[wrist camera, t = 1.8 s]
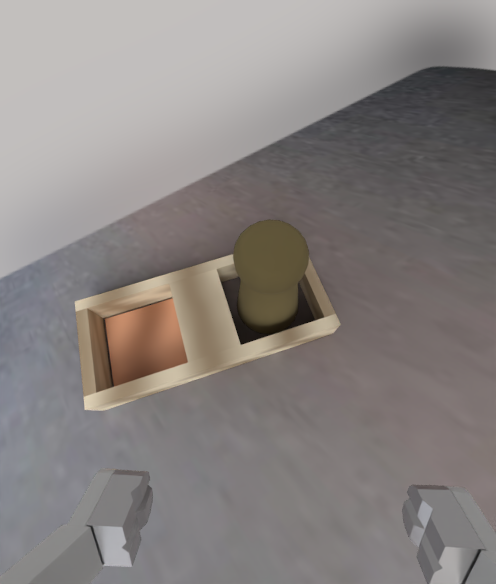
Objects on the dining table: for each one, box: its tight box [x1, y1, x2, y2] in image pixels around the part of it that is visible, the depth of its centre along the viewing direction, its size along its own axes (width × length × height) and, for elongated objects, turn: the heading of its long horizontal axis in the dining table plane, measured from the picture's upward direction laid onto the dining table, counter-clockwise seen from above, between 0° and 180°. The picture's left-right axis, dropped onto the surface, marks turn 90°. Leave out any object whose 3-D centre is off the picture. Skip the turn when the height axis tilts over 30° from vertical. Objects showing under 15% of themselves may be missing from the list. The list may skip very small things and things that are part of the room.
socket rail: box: [75, 254, 341, 411], centre depth 27 cm, size 22×10×3 cm, turn 108°
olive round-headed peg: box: [233, 220, 309, 334], centre depth 24 cm, size 6×6×11 cm
